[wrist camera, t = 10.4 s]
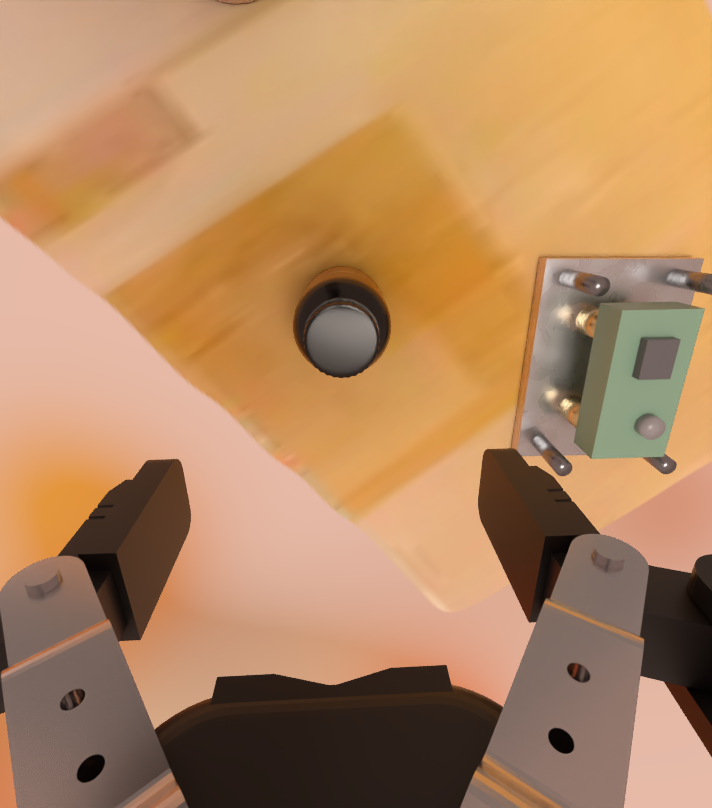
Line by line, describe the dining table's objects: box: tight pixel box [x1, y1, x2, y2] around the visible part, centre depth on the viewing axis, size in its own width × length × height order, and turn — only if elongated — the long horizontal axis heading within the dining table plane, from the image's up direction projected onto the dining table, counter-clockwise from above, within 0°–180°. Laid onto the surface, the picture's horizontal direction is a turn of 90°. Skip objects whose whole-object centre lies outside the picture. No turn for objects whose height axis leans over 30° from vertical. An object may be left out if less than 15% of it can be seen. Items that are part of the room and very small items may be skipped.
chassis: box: [511, 257, 712, 476], centre depth 39 cm, size 18×13×6 cm
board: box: [574, 302, 705, 459], centre depth 36 cm, size 12×6×4 cm, turn 1°
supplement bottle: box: [293, 266, 391, 378], centre depth 33 cm, size 7×7×12 cm
